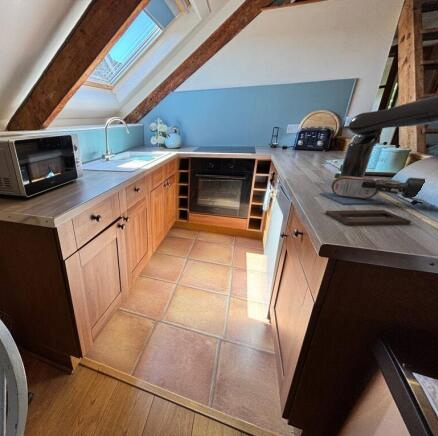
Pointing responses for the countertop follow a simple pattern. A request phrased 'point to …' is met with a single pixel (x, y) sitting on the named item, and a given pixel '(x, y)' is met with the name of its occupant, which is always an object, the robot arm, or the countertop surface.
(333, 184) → the tin
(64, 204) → the countertop surface
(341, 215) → the stand
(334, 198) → the mat
